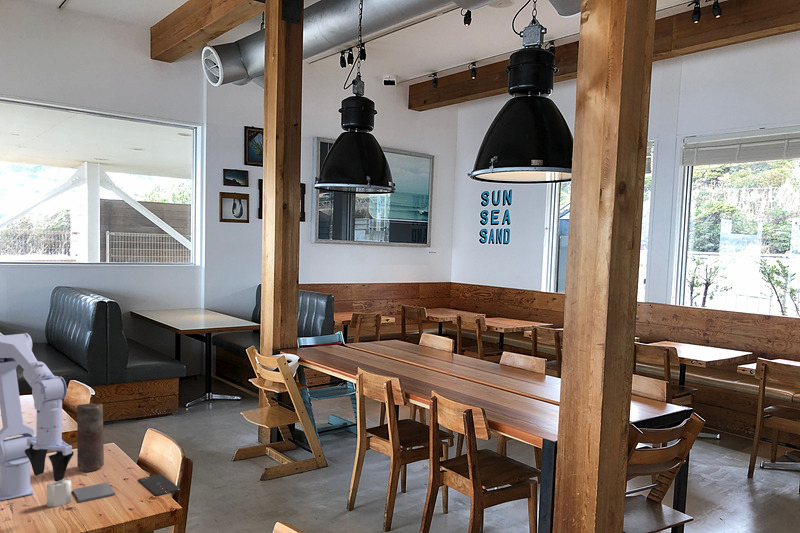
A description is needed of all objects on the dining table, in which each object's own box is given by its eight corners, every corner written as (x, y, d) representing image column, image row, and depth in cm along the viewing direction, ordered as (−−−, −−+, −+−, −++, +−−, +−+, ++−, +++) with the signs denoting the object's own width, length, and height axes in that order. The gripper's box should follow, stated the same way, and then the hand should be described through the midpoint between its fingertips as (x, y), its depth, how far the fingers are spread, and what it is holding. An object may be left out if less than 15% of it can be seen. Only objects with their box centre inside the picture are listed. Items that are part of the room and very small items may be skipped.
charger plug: (45, 504, 168) (45, 479, 167) (69, 499, 171) (70, 474, 171) (47, 508, 165) (47, 482, 165) (72, 502, 169) (72, 478, 168)
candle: (72, 468, 193) (72, 404, 192) (95, 461, 199) (95, 399, 198) (85, 474, 189) (85, 408, 188) (108, 467, 195) (109, 403, 194)
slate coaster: (72, 491, 176) (72, 489, 176) (107, 484, 182) (107, 482, 182) (79, 502, 169) (79, 500, 169) (115, 495, 174) (115, 492, 174)
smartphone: (155, 495, 174) (136, 478, 185) (155, 498, 174) (136, 481, 185) (181, 488, 179) (161, 472, 190) (181, 491, 179) (161, 475, 190)
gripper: (15, 425, 160) (15, 477, 161) (54, 434, 154) (53, 488, 155) (41, 418, 167) (40, 468, 168) (79, 426, 161) (78, 478, 162)
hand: (48, 477), depth 162 cm, fingers open, 7 cm apart
